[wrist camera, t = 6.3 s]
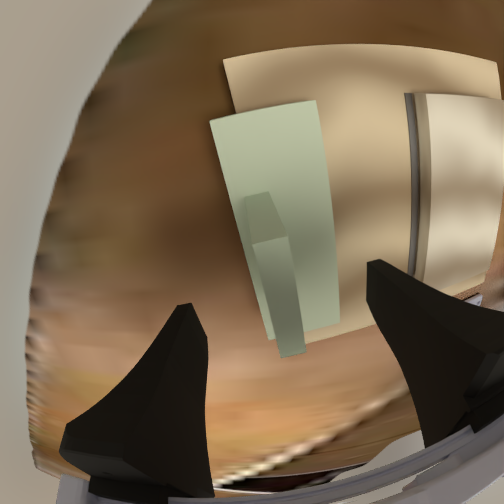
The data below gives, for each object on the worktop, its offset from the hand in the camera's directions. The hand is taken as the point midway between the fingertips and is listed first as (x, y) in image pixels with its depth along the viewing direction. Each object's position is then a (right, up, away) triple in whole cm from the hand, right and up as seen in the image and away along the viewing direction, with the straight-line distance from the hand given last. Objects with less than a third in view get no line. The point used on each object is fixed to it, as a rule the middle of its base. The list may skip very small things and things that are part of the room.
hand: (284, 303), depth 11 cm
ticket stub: (+1, +3, +5) cm, 6 cm away
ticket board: (+9, +6, +6) cm, 13 cm away
